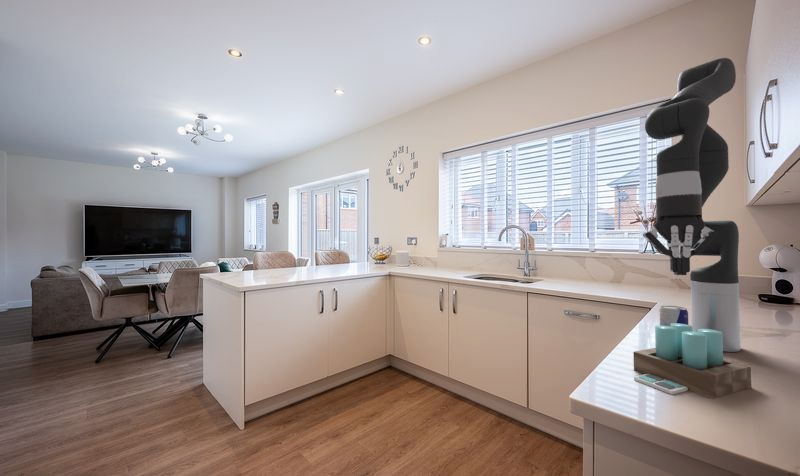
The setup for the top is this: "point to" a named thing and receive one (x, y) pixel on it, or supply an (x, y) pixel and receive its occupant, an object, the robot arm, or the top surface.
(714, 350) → the turquoise cylinder
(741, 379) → the wooden compartment tray
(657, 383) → the tile
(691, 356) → the light turquoise rounded peg
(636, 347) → the top surface
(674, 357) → the pale teal rounded cylinder
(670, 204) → the robot arm
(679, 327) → the teal capsule
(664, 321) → the energy drink
